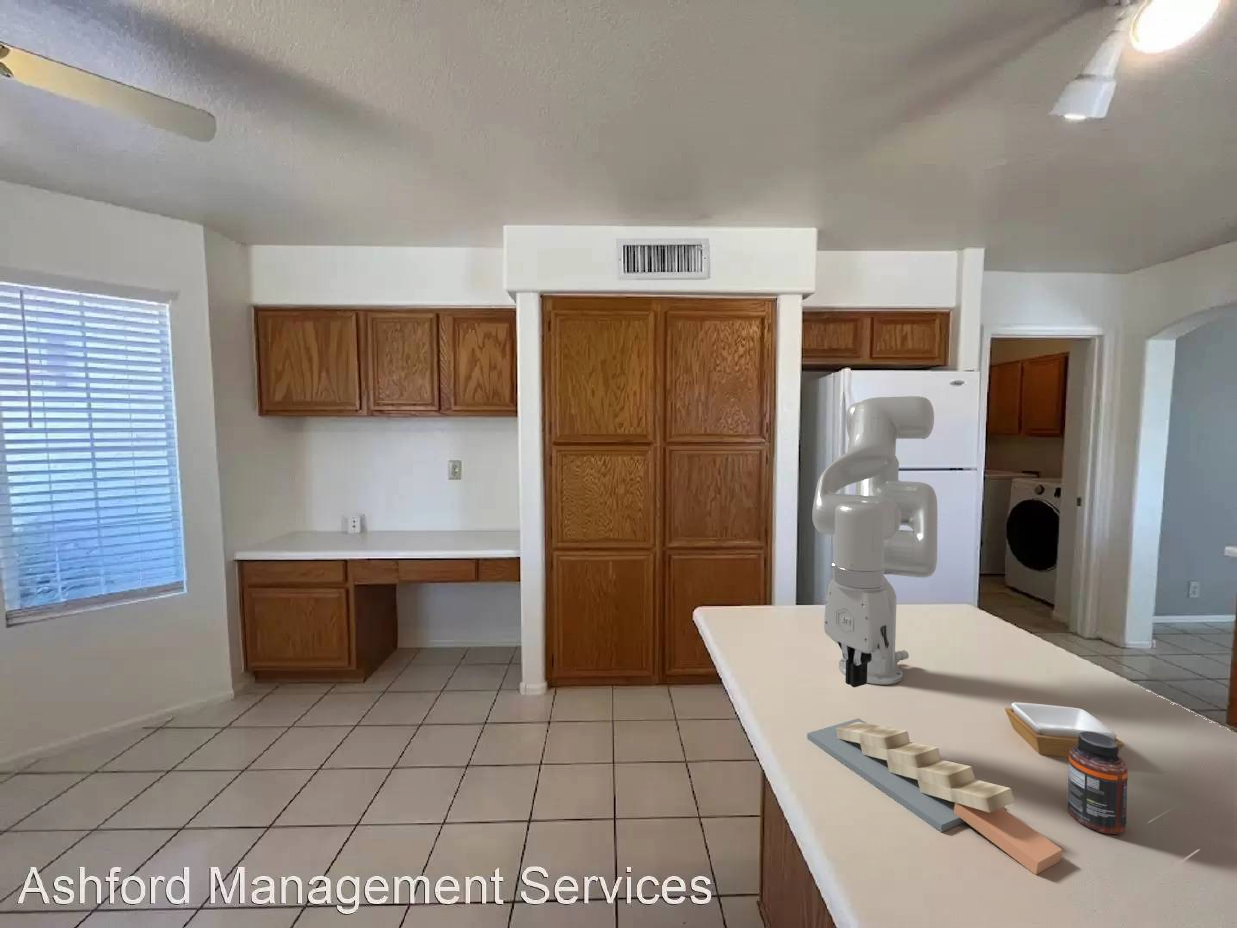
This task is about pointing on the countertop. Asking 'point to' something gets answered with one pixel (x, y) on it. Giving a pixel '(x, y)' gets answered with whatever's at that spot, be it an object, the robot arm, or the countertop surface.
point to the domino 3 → (936, 773)
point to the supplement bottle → (1097, 784)
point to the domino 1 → (873, 735)
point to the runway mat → (887, 778)
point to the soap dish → (1054, 727)
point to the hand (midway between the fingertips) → (856, 683)
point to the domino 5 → (1012, 837)
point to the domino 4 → (972, 794)
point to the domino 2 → (905, 754)
